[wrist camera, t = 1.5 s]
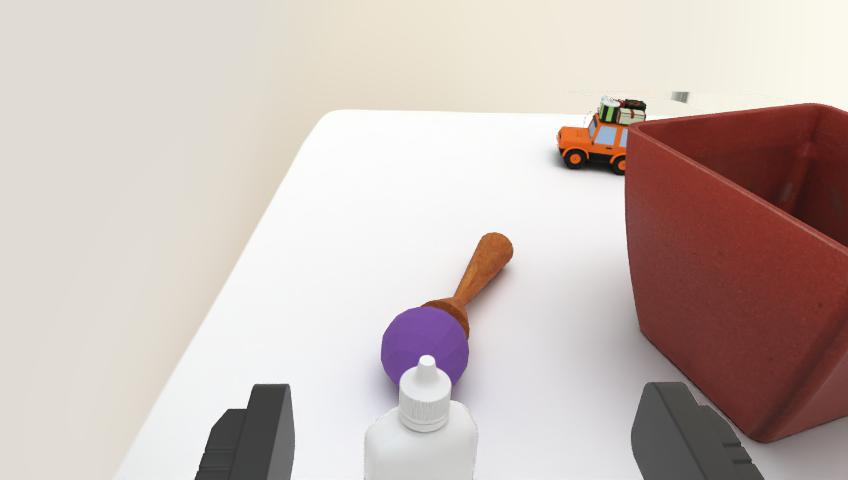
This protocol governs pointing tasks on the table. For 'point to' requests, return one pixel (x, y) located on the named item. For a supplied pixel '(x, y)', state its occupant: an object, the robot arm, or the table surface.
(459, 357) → the purple maraca
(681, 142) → the flower pot
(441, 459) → the eye dropper bottle
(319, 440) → the table surface
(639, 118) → the toy car
